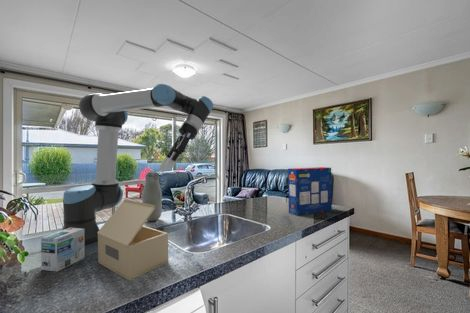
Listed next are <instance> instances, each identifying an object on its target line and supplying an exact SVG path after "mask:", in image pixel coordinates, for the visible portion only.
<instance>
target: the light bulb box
mask: <svg viewBox="0 0 470 313" xmlns="http://www.w3.org/2000/svg"><path fill="white" fill-rule="evenodd" d="M84 231H85V230H84V229H81V228H67V229H65V230H62V229H61V230H58V231H56V232H54V233H51V234H48V235H44V236H42V237H40V239H41V240H40V244H41V246H40V248H41V250H40V252H41V253H40V254H41V255H40V256H41V271H48V272H56V273H57V272H60V271H62V270H63V269H66V268H68V267H70V266H71V265H73V264H75V263H77V262H79V261H82V260H84V259H85V251H86V250H85V249H86V248H85V246H86V244H85V241H84V239H85V238H84Z"/></svg>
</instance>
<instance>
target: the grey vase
mask: <svg viewBox="0 0 470 313" xmlns="http://www.w3.org/2000/svg"><path fill="white" fill-rule="evenodd" d="M144 181H145V182H144V186H143V190H142V193H141V194H142V197H141V198H142V199H141V201H142V202H141V203H146V204H151V205H155V206H157V207H156V208H155V209H154V211H153V212H152V214H151V215H150V216H149V218H148V219H147V221H148V222H156V221H158V220H160V218H161V216H162V211H163V208H162V207H163V205H162V204H163V201H162V200H163V192H162V188H161V184H160V174H159V173H158V172H157V171H149V172H146V174H145V180H144ZM147 221H146V222H147Z"/></svg>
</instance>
